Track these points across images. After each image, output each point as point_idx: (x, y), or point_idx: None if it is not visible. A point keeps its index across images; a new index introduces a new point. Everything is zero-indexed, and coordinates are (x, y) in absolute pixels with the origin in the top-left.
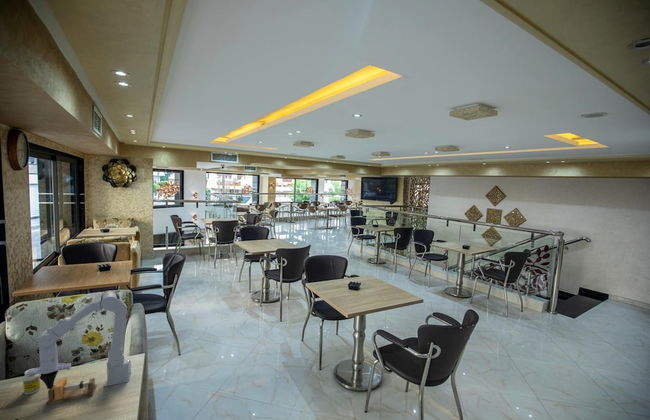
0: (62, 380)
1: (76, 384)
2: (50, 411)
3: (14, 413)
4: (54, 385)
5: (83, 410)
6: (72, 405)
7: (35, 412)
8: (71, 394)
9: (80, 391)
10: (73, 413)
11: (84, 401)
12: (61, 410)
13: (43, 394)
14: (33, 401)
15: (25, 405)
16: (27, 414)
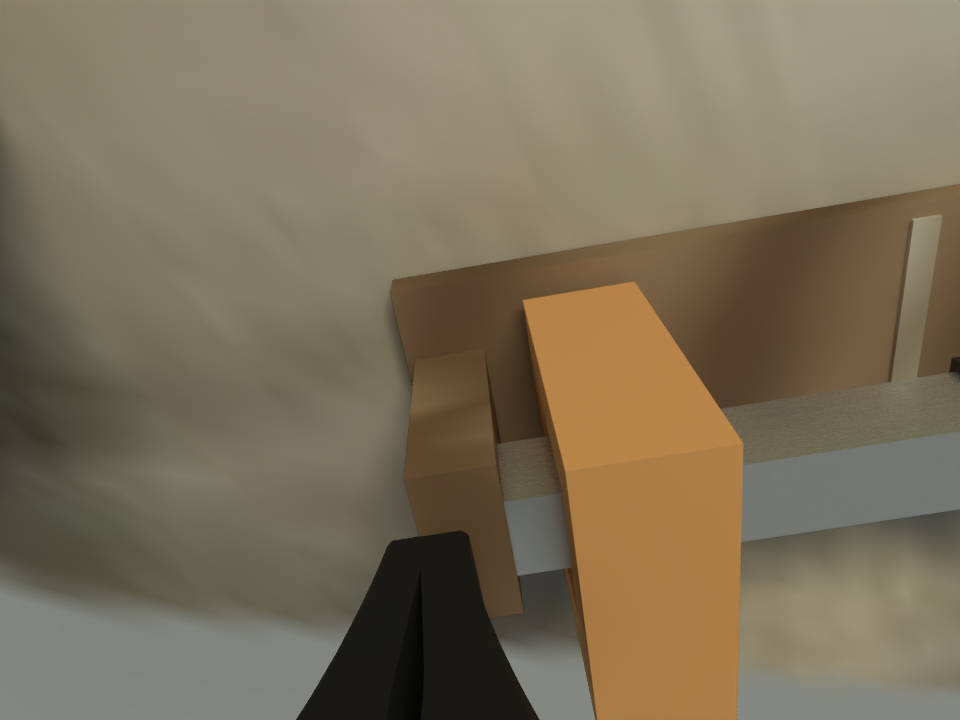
0: (675, 549)
1: (944, 496)
2: (571, 617)
3: (118, 595)
4: (464, 475)
5: (956, 646)
6: (807, 559)
7: None
8: (744, 392)
9: (876, 340)
10: (855, 671)
11: (947, 512)
12: None
13: (206, 252)
14: (178, 409)
15: (129, 476)
16: (311, 627)
